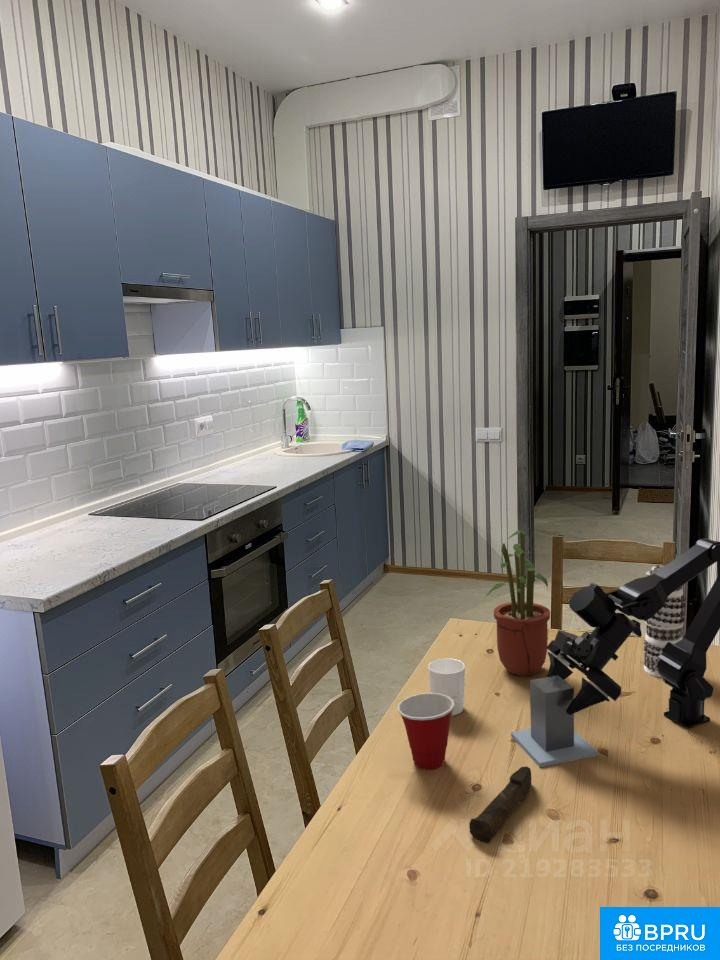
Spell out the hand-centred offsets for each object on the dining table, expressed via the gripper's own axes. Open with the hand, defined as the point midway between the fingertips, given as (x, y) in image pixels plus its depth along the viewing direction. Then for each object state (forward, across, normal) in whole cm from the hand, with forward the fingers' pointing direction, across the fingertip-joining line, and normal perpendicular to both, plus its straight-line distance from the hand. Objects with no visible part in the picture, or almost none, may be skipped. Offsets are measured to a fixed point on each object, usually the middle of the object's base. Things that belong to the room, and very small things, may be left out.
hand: (555, 702), depth 146 cm
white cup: (+16, -21, -4) cm, 27 cm away
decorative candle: (-21, -21, +35) cm, 46 cm away
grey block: (+6, 0, +5) cm, 8 cm away
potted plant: (0, -35, +13) cm, 37 cm away
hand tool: (+20, +16, -7) cm, 26 cm away
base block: (+7, 0, +6) cm, 10 cm away
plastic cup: (+24, -3, -12) cm, 27 cm away
